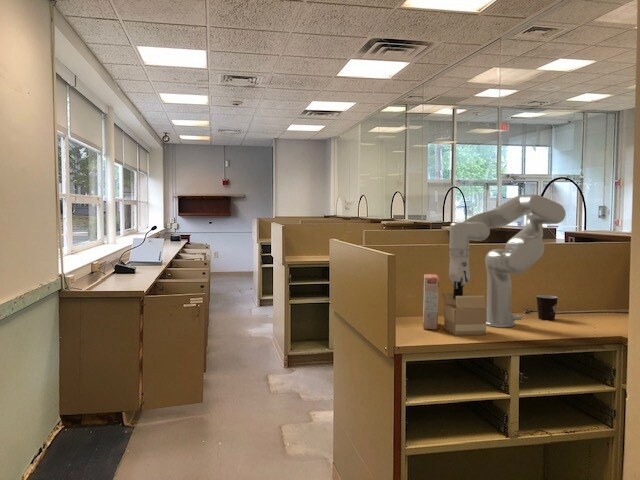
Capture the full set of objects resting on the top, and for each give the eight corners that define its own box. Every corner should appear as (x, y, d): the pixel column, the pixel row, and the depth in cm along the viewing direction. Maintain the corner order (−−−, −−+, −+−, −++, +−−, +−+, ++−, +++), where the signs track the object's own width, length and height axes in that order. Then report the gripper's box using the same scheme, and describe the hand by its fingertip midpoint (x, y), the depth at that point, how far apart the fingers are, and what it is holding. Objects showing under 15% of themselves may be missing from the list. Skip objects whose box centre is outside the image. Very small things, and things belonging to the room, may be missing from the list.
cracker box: (438, 330, 194) (439, 277, 193) (423, 329, 195) (423, 277, 194) (437, 323, 207) (438, 273, 206) (422, 322, 209) (423, 273, 208)
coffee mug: (544, 321, 211) (545, 298, 211) (531, 317, 219) (532, 295, 219) (567, 320, 214) (568, 297, 213) (553, 316, 222) (554, 294, 222)
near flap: (457, 308, 184) (457, 308, 184) (455, 296, 186) (456, 295, 185) (485, 308, 186) (485, 307, 185) (483, 295, 187) (484, 295, 187)
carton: (474, 328, 197) (474, 303, 197) (487, 335, 186) (487, 308, 186) (443, 329, 196) (443, 304, 195) (454, 335, 185) (454, 309, 184)
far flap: (472, 303, 197) (471, 304, 197) (469, 293, 200) (468, 293, 200) (445, 303, 196) (445, 304, 196) (442, 293, 198) (442, 294, 199)
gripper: (476, 254, 189) (475, 301, 190) (459, 251, 204) (458, 295, 205) (458, 254, 188) (457, 302, 189) (442, 252, 203) (441, 296, 204)
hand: (458, 298), depth 197 cm, fingers closed
